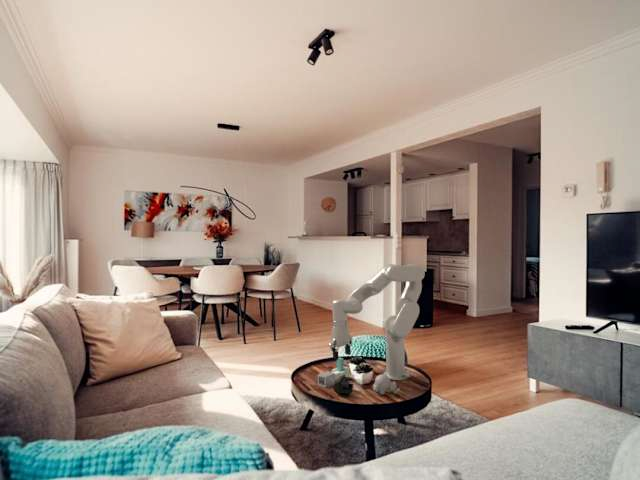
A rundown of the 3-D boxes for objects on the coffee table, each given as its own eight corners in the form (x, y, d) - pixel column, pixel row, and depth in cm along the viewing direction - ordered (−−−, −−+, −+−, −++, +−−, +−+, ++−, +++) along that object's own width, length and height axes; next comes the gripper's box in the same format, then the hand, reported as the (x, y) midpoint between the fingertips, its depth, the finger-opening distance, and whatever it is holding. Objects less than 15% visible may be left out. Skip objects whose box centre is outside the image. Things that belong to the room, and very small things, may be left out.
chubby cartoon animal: (396, 402, 177) (403, 385, 177) (371, 391, 178) (378, 374, 178) (395, 396, 184) (401, 379, 184) (371, 385, 186) (378, 369, 185)
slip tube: (344, 376, 201) (344, 358, 201) (328, 382, 192) (328, 363, 192) (339, 375, 203) (339, 357, 203) (324, 381, 194) (324, 362, 194)
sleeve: (334, 383, 194) (334, 373, 194) (325, 387, 189) (325, 376, 189) (327, 381, 197) (327, 370, 197) (317, 384, 192) (317, 374, 192)
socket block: (349, 378, 201) (349, 367, 201) (342, 381, 197) (342, 370, 197) (339, 375, 206) (339, 364, 206) (331, 378, 201) (331, 367, 201)
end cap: (339, 388, 188) (339, 374, 189) (353, 389, 186) (353, 375, 186) (333, 395, 179) (333, 381, 179) (348, 397, 177) (348, 382, 177)
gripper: (345, 319, 210) (347, 351, 210) (323, 326, 197) (325, 359, 197) (356, 321, 205) (358, 353, 205) (334, 327, 192) (336, 362, 192)
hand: (342, 356), depth 201 cm, fingers open, 9 cm apart
